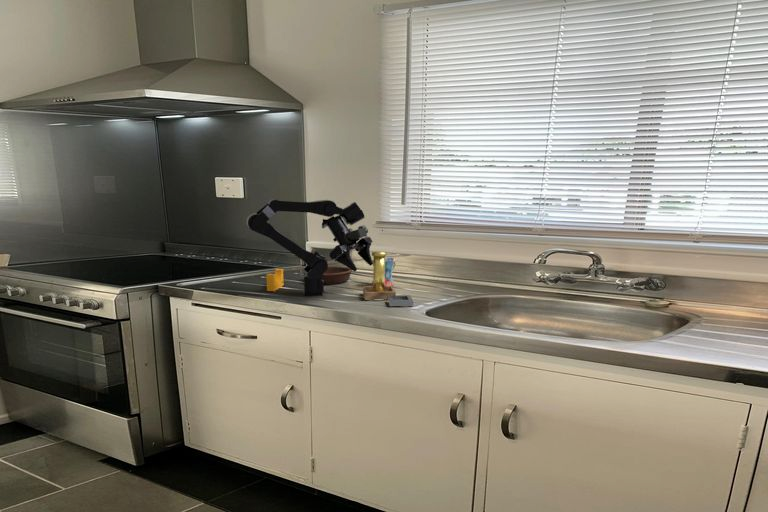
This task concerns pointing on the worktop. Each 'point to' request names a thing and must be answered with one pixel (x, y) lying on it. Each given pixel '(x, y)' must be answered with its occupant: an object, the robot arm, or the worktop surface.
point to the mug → (388, 271)
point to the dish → (336, 275)
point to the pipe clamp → (275, 280)
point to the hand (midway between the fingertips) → (363, 267)
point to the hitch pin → (379, 271)
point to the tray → (377, 293)
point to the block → (400, 300)
